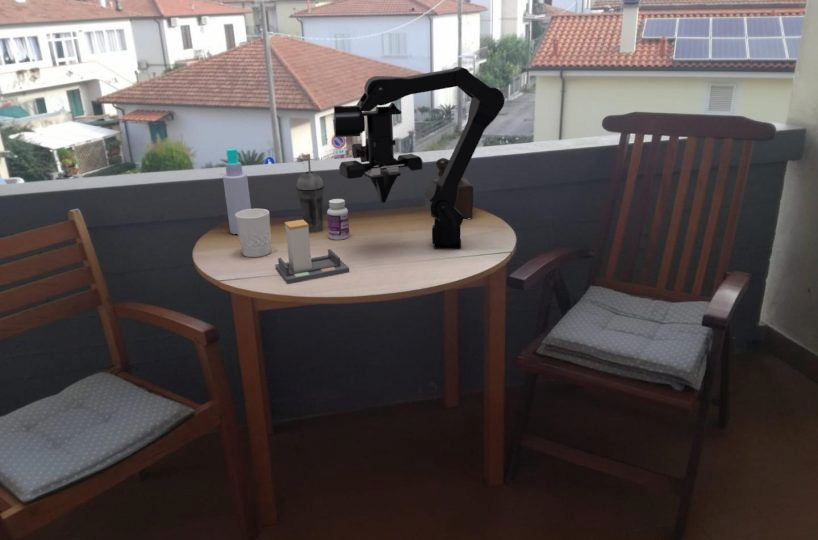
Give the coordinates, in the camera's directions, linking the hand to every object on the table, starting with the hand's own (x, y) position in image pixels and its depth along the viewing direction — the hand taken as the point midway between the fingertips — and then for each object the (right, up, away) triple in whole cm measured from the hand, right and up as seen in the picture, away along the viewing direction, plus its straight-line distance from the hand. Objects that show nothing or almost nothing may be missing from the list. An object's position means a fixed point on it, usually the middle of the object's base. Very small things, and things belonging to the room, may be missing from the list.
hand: (382, 202), depth 147 cm
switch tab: (-18, -15, -8) cm, 25 cm away
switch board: (-16, -16, -7) cm, 23 cm away
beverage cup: (-19, -5, +21) cm, 29 cm away
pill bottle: (-12, -8, +15) cm, 20 cm away
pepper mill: (+18, -2, +28) cm, 33 cm away
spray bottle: (-38, -6, +21) cm, 44 cm away
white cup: (-31, -12, +5) cm, 33 cm away
